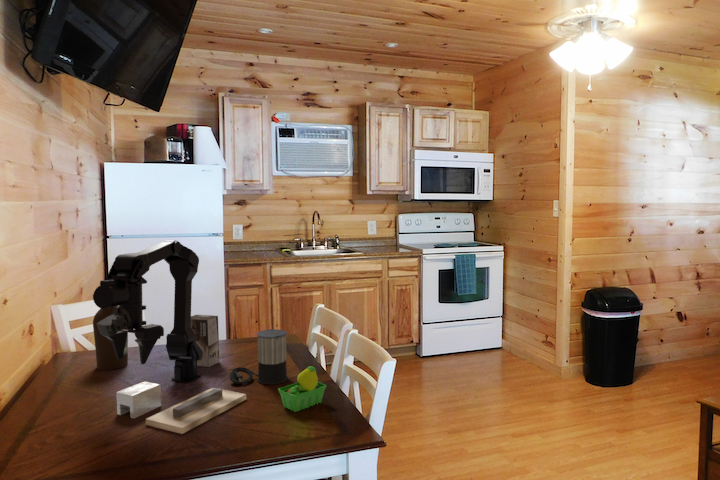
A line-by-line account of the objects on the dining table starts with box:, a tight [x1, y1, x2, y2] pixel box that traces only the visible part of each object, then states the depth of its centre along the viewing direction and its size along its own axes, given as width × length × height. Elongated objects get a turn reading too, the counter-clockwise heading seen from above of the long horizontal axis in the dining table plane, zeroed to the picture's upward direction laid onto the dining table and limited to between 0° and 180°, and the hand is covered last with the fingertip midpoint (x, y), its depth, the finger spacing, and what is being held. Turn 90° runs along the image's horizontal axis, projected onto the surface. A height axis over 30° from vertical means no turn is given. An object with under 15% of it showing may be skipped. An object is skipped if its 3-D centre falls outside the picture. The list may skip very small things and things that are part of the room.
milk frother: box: [229, 328, 288, 385], centre depth 160 cm, size 14×16×15 cm
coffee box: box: [191, 314, 220, 368], centre depth 178 cm, size 9×6×16 cm
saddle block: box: [116, 381, 162, 419], centre depth 139 cm, size 9×6×6 cm, turn 154°
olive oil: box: [92, 305, 129, 371], centre depth 176 cm, size 11×11×25 cm
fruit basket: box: [277, 365, 327, 413], centre depth 140 cm, size 11×9×11 cm
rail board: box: [145, 387, 247, 435], centre depth 137 cm, size 24×12×4 cm, turn 154°
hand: (131, 361), depth 138 cm, fingers open, 9 cm apart
